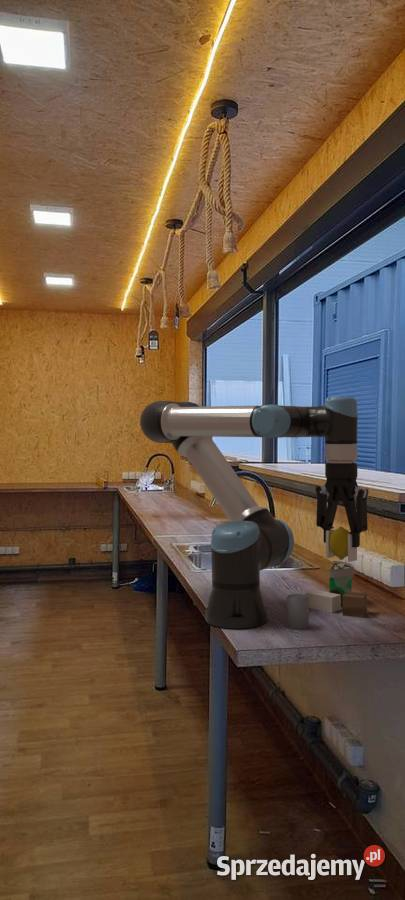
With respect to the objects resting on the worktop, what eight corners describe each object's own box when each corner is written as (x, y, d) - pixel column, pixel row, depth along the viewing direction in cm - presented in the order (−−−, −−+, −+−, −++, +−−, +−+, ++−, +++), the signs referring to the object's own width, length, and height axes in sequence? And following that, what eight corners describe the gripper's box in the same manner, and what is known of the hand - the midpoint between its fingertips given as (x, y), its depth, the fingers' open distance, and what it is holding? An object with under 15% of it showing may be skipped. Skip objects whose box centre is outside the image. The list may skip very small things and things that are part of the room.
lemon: (356, 562, 149) (356, 528, 148) (332, 562, 148) (332, 528, 148) (349, 557, 154) (349, 524, 154) (326, 558, 154) (326, 525, 154)
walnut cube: (363, 618, 154) (362, 597, 154) (342, 615, 157) (342, 595, 157) (367, 612, 159) (367, 593, 159) (347, 610, 161) (347, 591, 161)
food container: (353, 609, 162) (353, 570, 161) (329, 608, 163) (328, 569, 163) (356, 597, 173) (356, 561, 173) (333, 596, 175) (333, 560, 175)
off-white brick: (332, 613, 159) (331, 597, 159) (306, 607, 165) (305, 592, 165) (340, 610, 162) (340, 594, 162) (315, 604, 168) (314, 589, 168)
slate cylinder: (300, 631, 145) (300, 600, 144) (282, 626, 148) (282, 596, 148) (312, 626, 148) (312, 596, 148) (295, 622, 152) (295, 593, 152)
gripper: (384, 462, 146) (384, 562, 147) (319, 460, 160) (319, 551, 161) (366, 463, 141) (366, 567, 142) (300, 461, 155) (300, 555, 156)
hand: (341, 558), depth 151 cm, fingers closed on lemon, 5 cm apart
